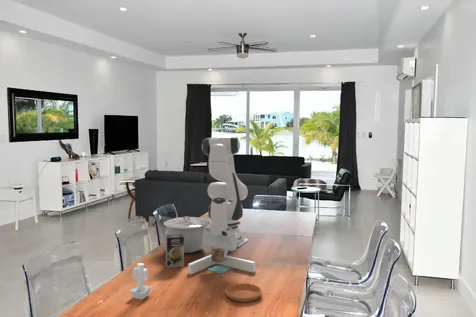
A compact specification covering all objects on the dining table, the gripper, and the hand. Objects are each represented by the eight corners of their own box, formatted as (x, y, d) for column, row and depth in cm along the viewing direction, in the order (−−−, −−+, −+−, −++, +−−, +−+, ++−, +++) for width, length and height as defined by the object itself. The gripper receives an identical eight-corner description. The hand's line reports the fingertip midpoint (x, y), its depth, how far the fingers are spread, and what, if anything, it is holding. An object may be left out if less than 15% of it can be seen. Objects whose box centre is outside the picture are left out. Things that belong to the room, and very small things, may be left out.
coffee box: (167, 268, 218) (166, 238, 217) (165, 264, 224) (165, 234, 223) (184, 266, 221) (184, 236, 219) (182, 262, 227) (182, 233, 225)
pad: (217, 265, 223) (217, 264, 223) (231, 268, 218) (231, 267, 218) (207, 269, 215) (207, 269, 215) (221, 273, 210) (221, 273, 210)
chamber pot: (202, 258, 233) (202, 222, 231) (156, 255, 238) (155, 220, 237) (215, 244, 260) (215, 211, 258) (173, 241, 266) (173, 209, 264)
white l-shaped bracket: (215, 261, 228) (215, 252, 228) (255, 271, 213) (255, 262, 213) (188, 273, 210) (188, 263, 210) (229, 285, 195) (229, 274, 195)
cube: (211, 260, 215) (211, 250, 215) (218, 258, 220) (218, 247, 219) (219, 262, 212) (219, 251, 212) (226, 260, 217) (226, 249, 216)
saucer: (241, 286, 195) (241, 280, 195) (269, 295, 185) (269, 288, 184) (218, 297, 183) (218, 290, 182) (246, 307, 172) (246, 300, 172)
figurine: (153, 293, 186) (153, 261, 184) (142, 302, 177) (141, 268, 175) (139, 291, 188) (139, 259, 187) (127, 300, 179) (126, 266, 178)
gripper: (199, 228, 218) (199, 253, 219) (231, 234, 206) (231, 261, 207) (207, 225, 223) (207, 250, 224) (238, 231, 211) (238, 258, 213)
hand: (219, 256), depth 216 cm, fingers closed on cube, 5 cm apart
